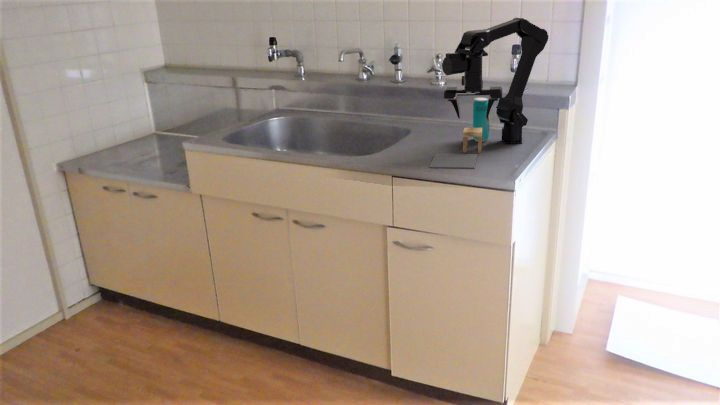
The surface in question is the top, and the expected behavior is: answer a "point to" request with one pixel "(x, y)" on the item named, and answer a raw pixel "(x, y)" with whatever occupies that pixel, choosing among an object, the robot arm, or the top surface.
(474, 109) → the beverage can
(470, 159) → the mat
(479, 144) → the stool
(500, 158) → the top surface
